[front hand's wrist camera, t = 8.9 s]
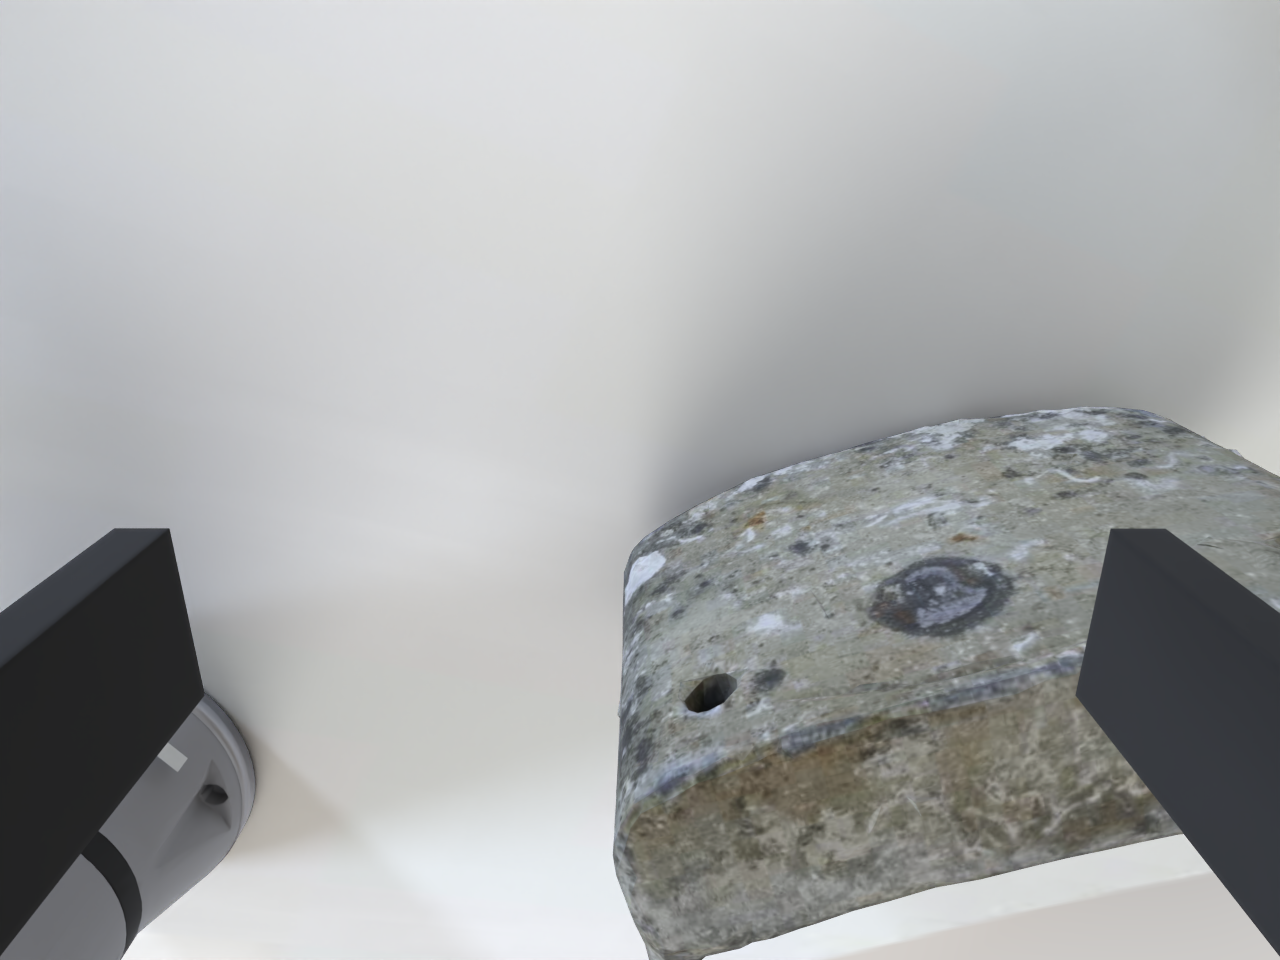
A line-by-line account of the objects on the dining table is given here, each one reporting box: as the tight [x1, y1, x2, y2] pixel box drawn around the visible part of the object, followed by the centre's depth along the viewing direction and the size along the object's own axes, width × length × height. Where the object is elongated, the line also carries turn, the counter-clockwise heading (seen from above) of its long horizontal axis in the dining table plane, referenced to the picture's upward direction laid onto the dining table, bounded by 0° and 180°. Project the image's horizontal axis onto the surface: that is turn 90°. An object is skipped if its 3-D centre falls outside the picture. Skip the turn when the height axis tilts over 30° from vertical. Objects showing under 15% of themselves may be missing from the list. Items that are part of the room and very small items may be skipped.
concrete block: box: [613, 407, 1280, 960], centre depth 34 cm, size 27×9×20 cm, turn 105°
